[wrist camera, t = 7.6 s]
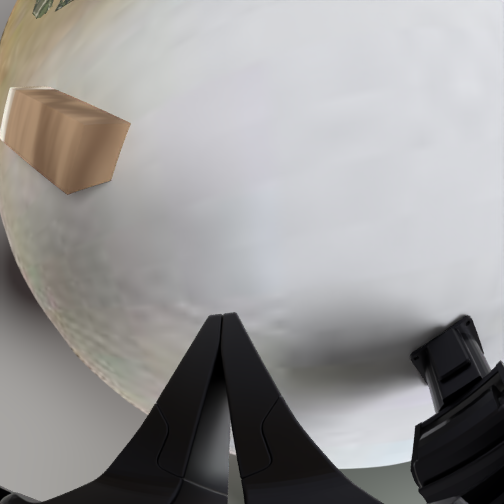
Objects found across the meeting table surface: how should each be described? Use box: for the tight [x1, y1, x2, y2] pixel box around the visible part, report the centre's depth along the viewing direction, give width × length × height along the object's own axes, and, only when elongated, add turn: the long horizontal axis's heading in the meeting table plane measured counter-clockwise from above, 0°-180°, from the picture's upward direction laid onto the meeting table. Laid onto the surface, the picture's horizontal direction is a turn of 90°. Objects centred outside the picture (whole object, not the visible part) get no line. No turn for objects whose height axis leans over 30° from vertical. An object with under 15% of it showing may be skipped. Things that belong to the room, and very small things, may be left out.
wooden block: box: [0, 87, 131, 195], centre depth 16 cm, size 5×5×13 cm
